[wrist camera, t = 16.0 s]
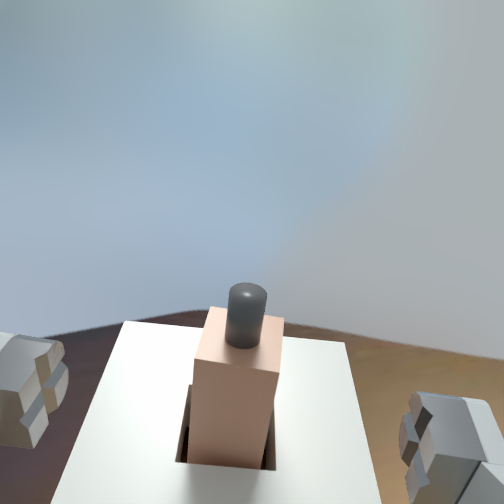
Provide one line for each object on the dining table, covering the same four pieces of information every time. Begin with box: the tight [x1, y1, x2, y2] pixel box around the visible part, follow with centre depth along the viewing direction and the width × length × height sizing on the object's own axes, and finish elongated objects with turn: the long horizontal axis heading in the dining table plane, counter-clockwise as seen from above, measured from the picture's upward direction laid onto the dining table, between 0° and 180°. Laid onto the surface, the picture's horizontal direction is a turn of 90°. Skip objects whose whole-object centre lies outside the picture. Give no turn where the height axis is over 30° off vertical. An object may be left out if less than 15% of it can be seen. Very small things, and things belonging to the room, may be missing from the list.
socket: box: [51, 321, 381, 504], centre depth 30 cm, size 18×18×4 cm
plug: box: [187, 283, 284, 470], centre depth 28 cm, size 4×4×15 cm
